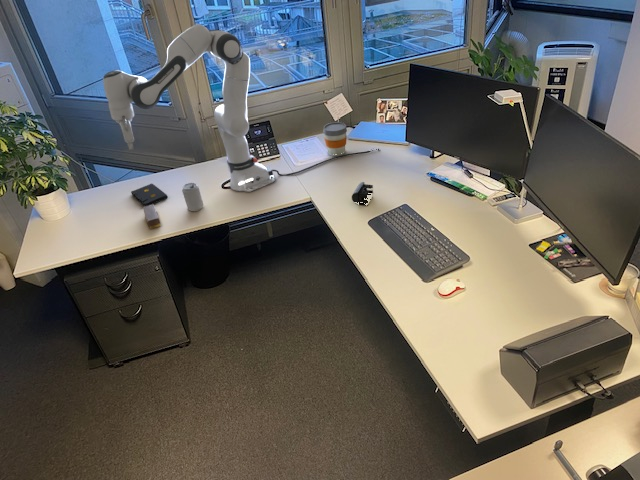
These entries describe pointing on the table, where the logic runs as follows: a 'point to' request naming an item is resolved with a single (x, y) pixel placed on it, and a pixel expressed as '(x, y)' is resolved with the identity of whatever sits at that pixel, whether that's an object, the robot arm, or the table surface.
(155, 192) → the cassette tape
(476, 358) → the table surface
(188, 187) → the can
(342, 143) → the reusable coffee cup
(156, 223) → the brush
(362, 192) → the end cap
